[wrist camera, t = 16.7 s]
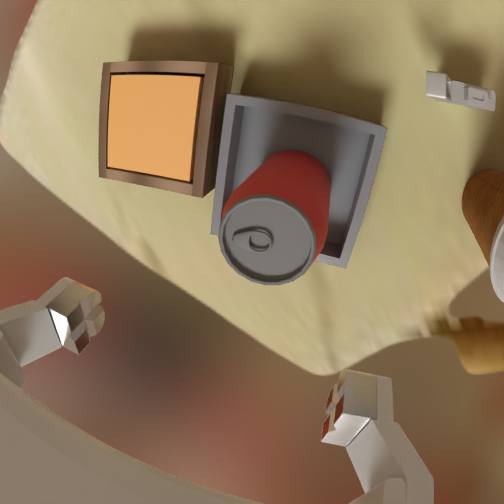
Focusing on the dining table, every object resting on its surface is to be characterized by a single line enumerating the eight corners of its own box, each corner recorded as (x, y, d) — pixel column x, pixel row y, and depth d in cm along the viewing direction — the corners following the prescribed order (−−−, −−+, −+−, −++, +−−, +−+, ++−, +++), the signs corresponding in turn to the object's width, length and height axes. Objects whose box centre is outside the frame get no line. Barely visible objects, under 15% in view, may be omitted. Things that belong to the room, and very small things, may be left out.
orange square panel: (206, 77, 23) (200, 77, 22) (194, 177, 27) (189, 181, 26) (119, 75, 24) (111, 75, 23) (114, 163, 29) (107, 166, 28)
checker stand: (234, 66, 25) (218, 62, 21) (218, 185, 30) (202, 197, 27) (127, 63, 26) (103, 62, 23) (121, 166, 32) (98, 177, 29)
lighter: (474, 90, 20) (518, 93, 13) (474, 108, 20) (517, 117, 14) (403, 76, 21) (428, 69, 14) (403, 95, 22) (428, 96, 15)
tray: (380, 124, 24) (387, 128, 21) (345, 250, 30) (345, 268, 27) (239, 93, 26) (227, 93, 23) (222, 219, 32) (210, 233, 29)
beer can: (257, 146, 27) (205, 182, 17) (333, 151, 25) (331, 192, 15) (257, 215, 30) (213, 285, 20) (327, 222, 29) (319, 300, 18)
